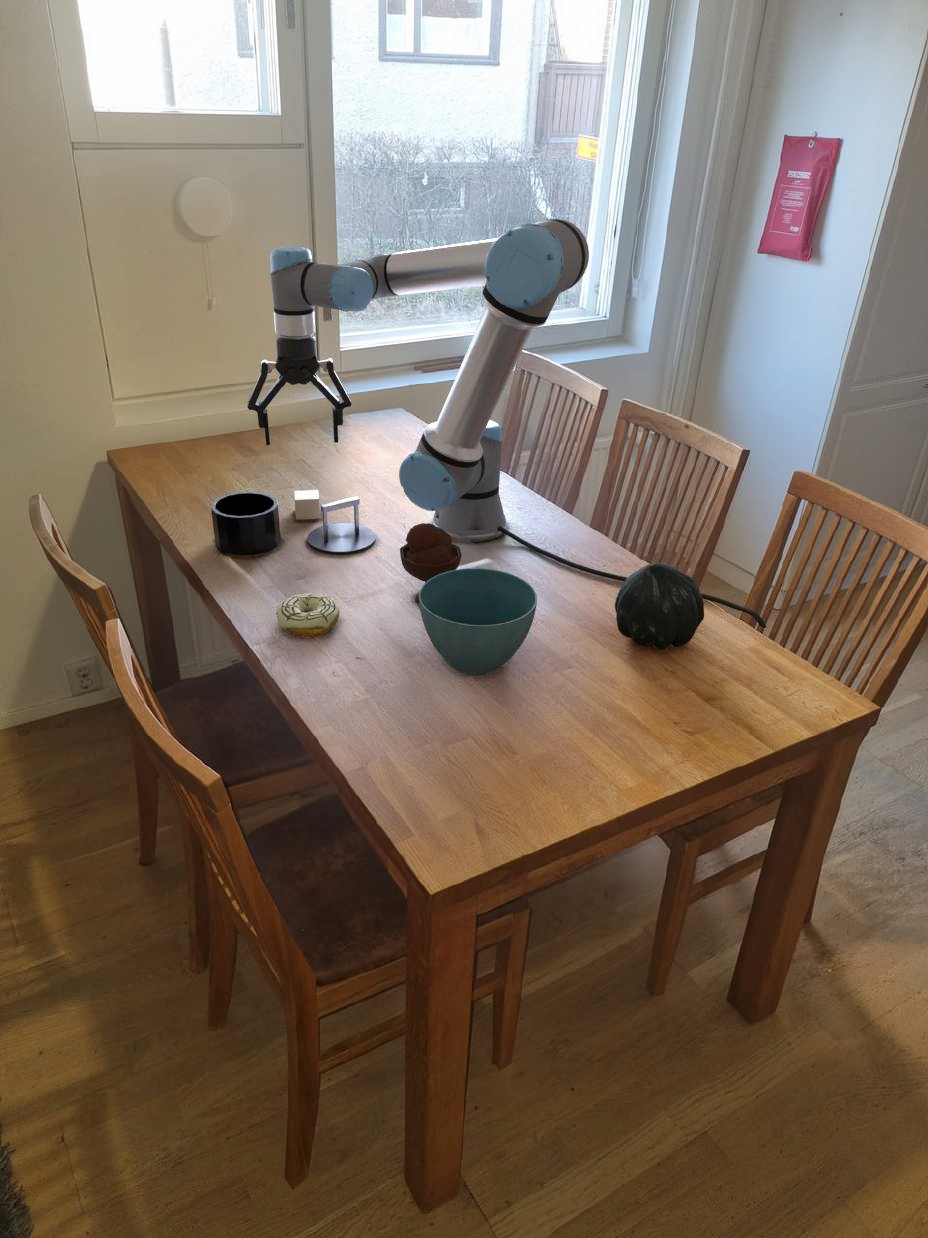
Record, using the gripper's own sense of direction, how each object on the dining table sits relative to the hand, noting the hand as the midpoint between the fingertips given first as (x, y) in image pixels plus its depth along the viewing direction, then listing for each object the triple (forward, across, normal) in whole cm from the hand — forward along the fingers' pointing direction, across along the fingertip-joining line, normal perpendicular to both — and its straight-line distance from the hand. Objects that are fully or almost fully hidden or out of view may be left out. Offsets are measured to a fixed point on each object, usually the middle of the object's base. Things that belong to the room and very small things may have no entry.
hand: (302, 441), depth 183 cm
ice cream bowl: (+17, -20, +39) cm, 47 cm away
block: (+17, 0, 0) cm, 17 cm away
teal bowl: (+17, -24, +60) cm, 67 cm away
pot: (+17, +12, +11) cm, 24 cm away
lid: (+16, -6, +13) cm, 22 cm away
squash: (+17, -56, +57) cm, 82 cm away
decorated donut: (+17, +2, +44) cm, 48 cm away
